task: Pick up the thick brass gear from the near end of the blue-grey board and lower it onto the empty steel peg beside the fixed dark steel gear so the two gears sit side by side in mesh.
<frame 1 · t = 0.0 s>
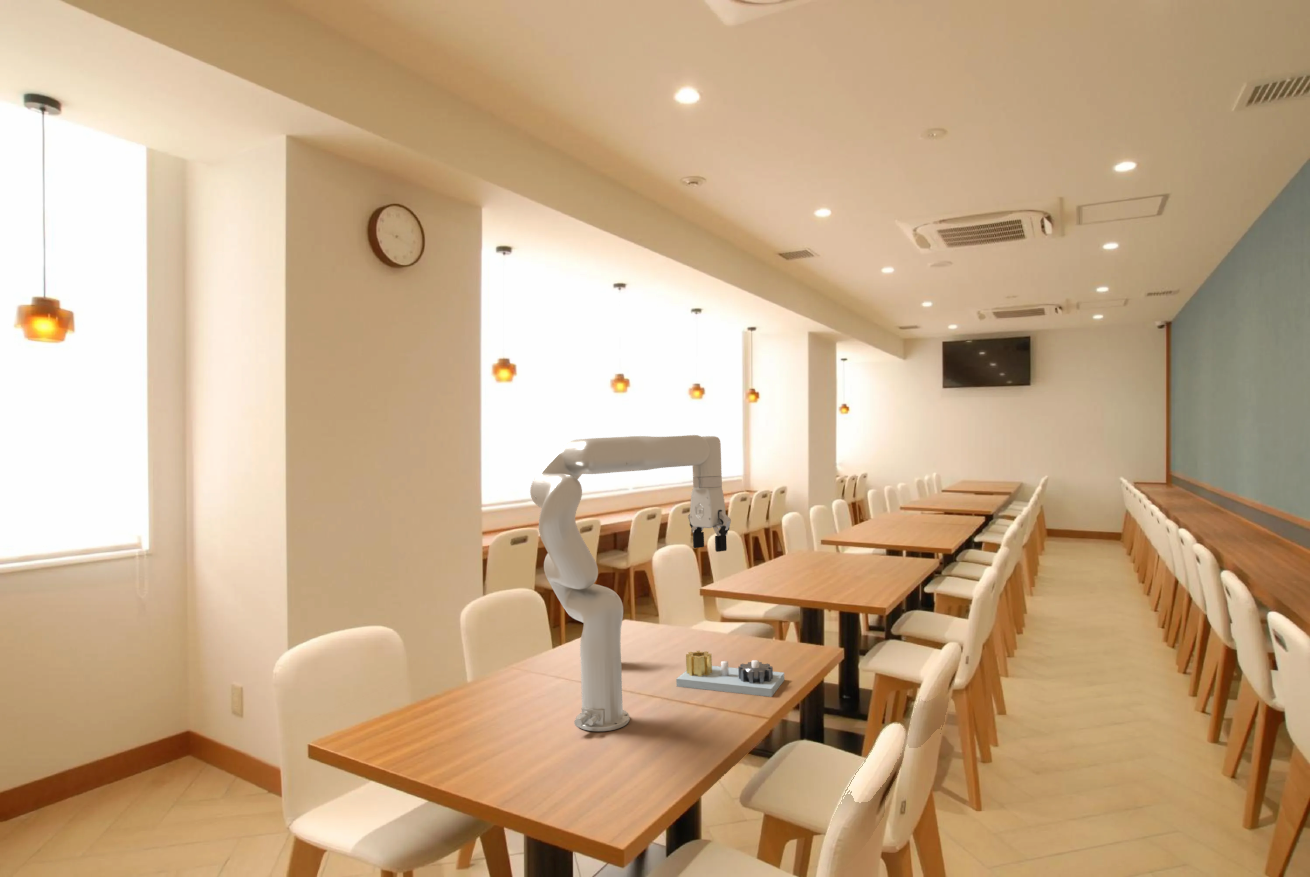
hand: (709, 549, 184), 37 cm above the table, tool pointing down, fingers open, 9 cm apart
board: (730, 683, 191), on the table
steel gear: (755, 678, 188), resting on board
brass gear: (699, 672, 194), point 2 cm above the table, touching board
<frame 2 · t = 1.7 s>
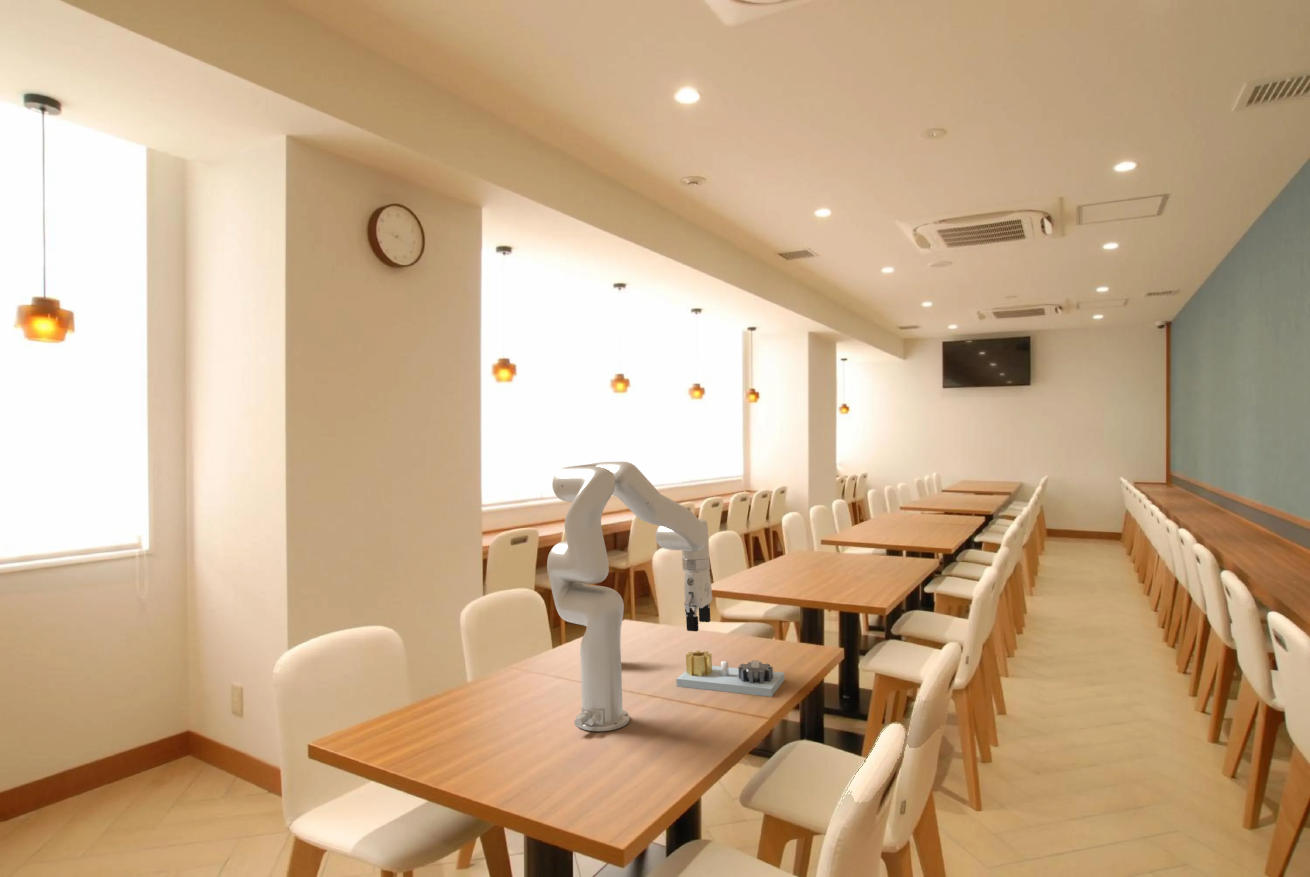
hand: (698, 626, 195), 15 cm above the table, tool pointing down, fingers open, 9 cm apart
nothing on the table moved.
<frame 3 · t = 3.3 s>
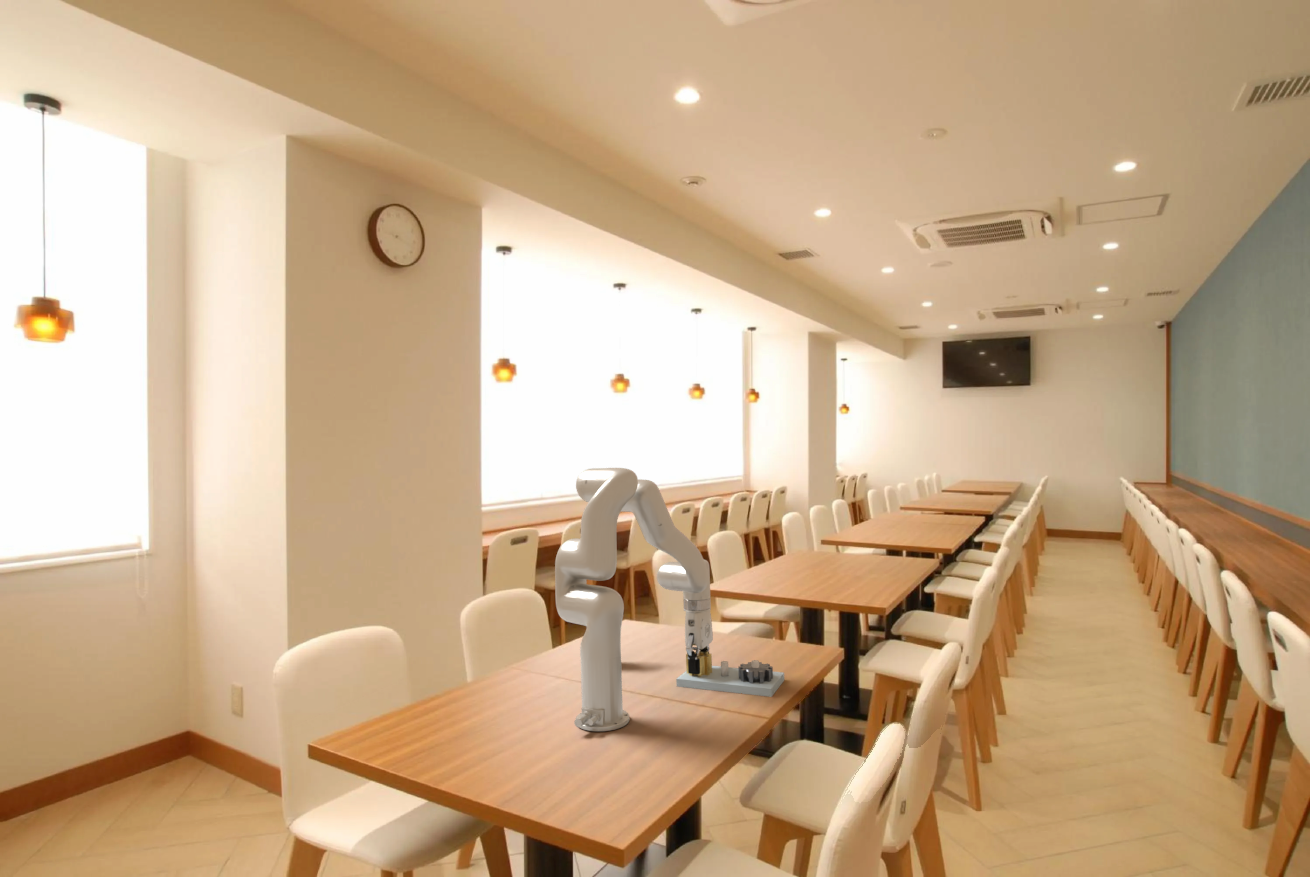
hand: (699, 668, 194), 3 cm above the table, tool pointing down, fingers closed on brass gear, 6 cm apart
brass gear: (699, 672, 194), point 2 cm above the table, touching board, gripper
everything else where it was.
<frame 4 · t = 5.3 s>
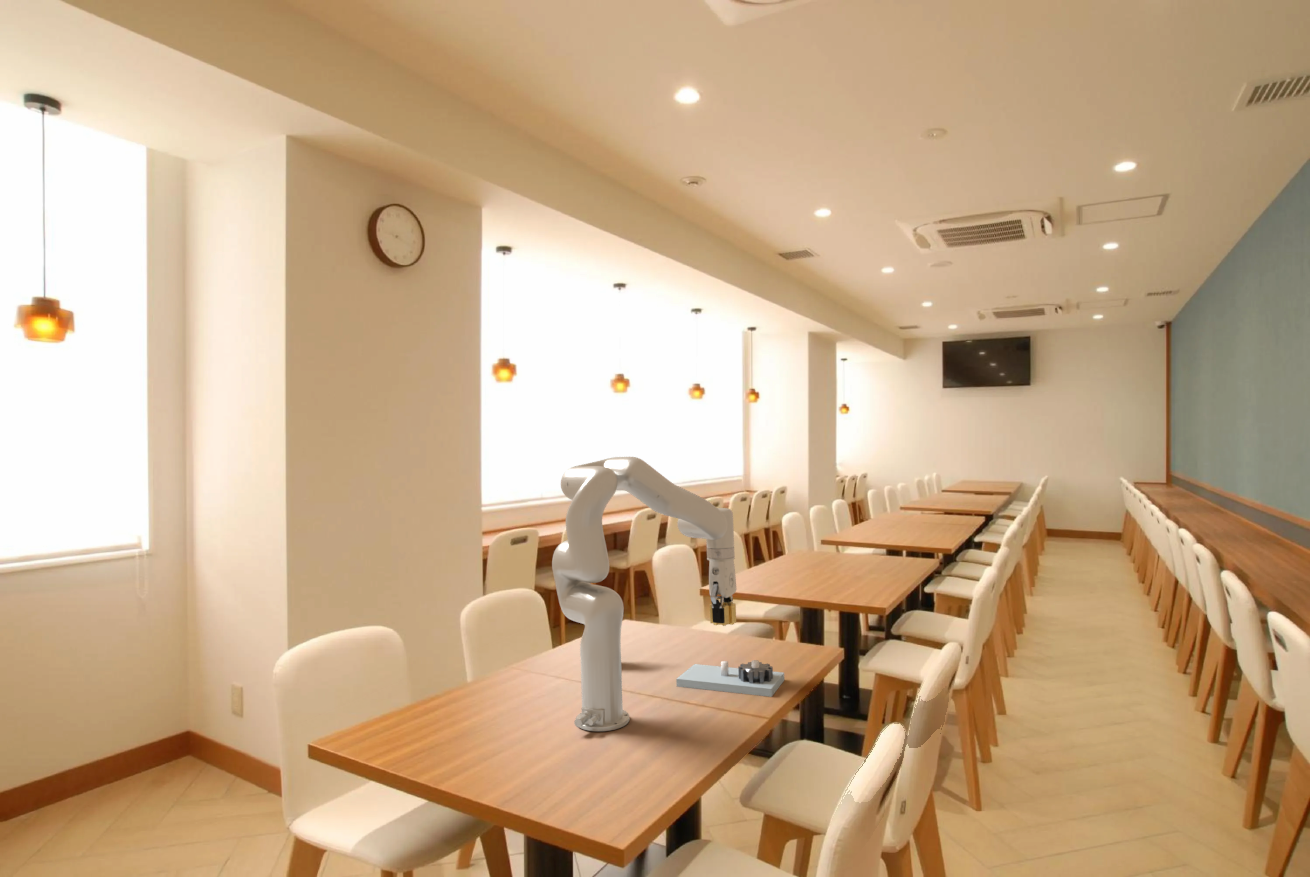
hand: (723, 618, 192), 17 cm above the table, tool pointing down, fingers closed on brass gear, 6 cm apart
brass gear: (723, 622, 192), point 16 cm above the table, touching gripper
everything else where it was.
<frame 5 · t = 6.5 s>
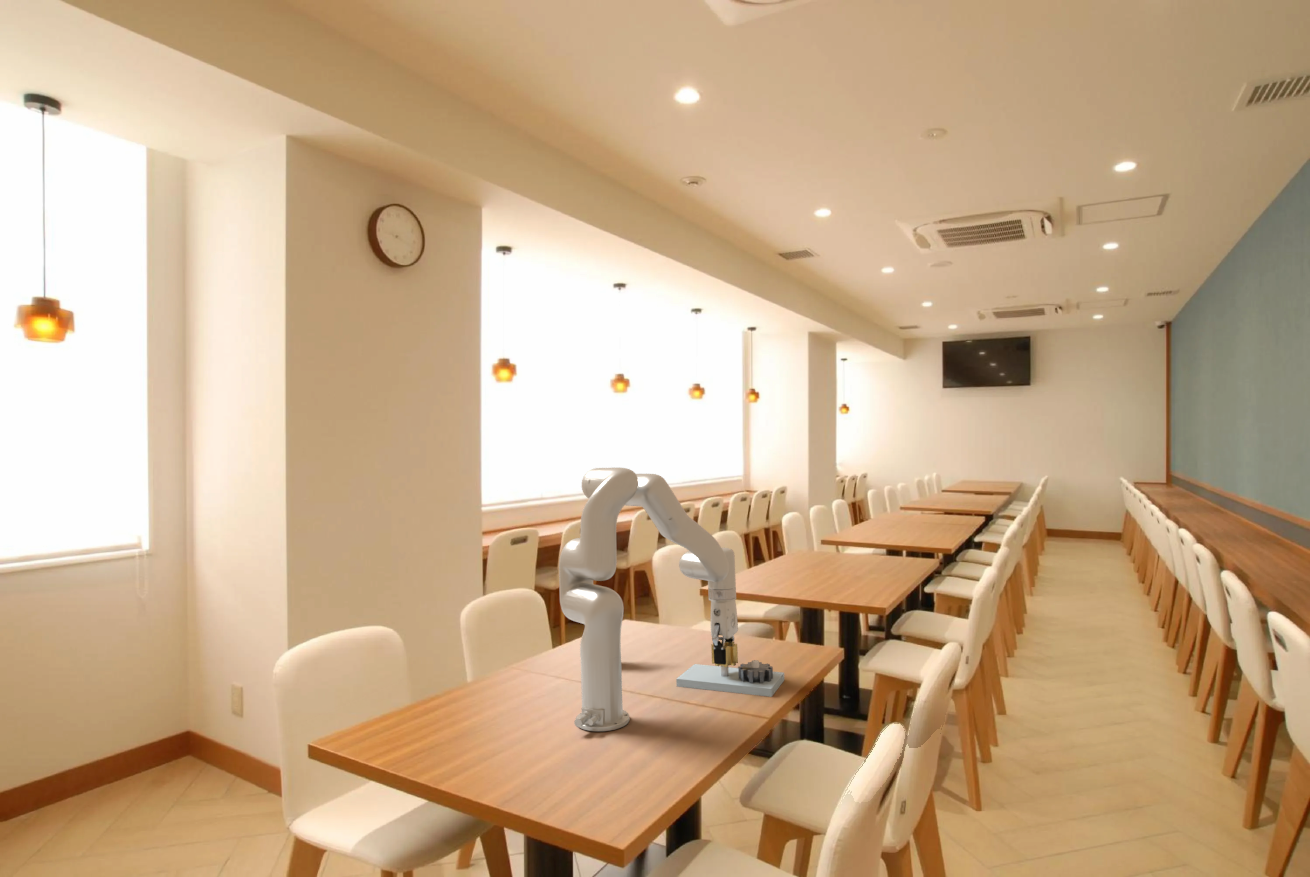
hand: (724, 659, 192), 6 cm above the table, tool pointing down, fingers closed on brass gear, 6 cm apart
brass gear: (724, 662, 192), point 5 cm above the table, touching gripper
everything else where it was.
when the fingers open (4 cm above the table, at t = 7.3 s): brass gear drops 1 cm, resting on board.
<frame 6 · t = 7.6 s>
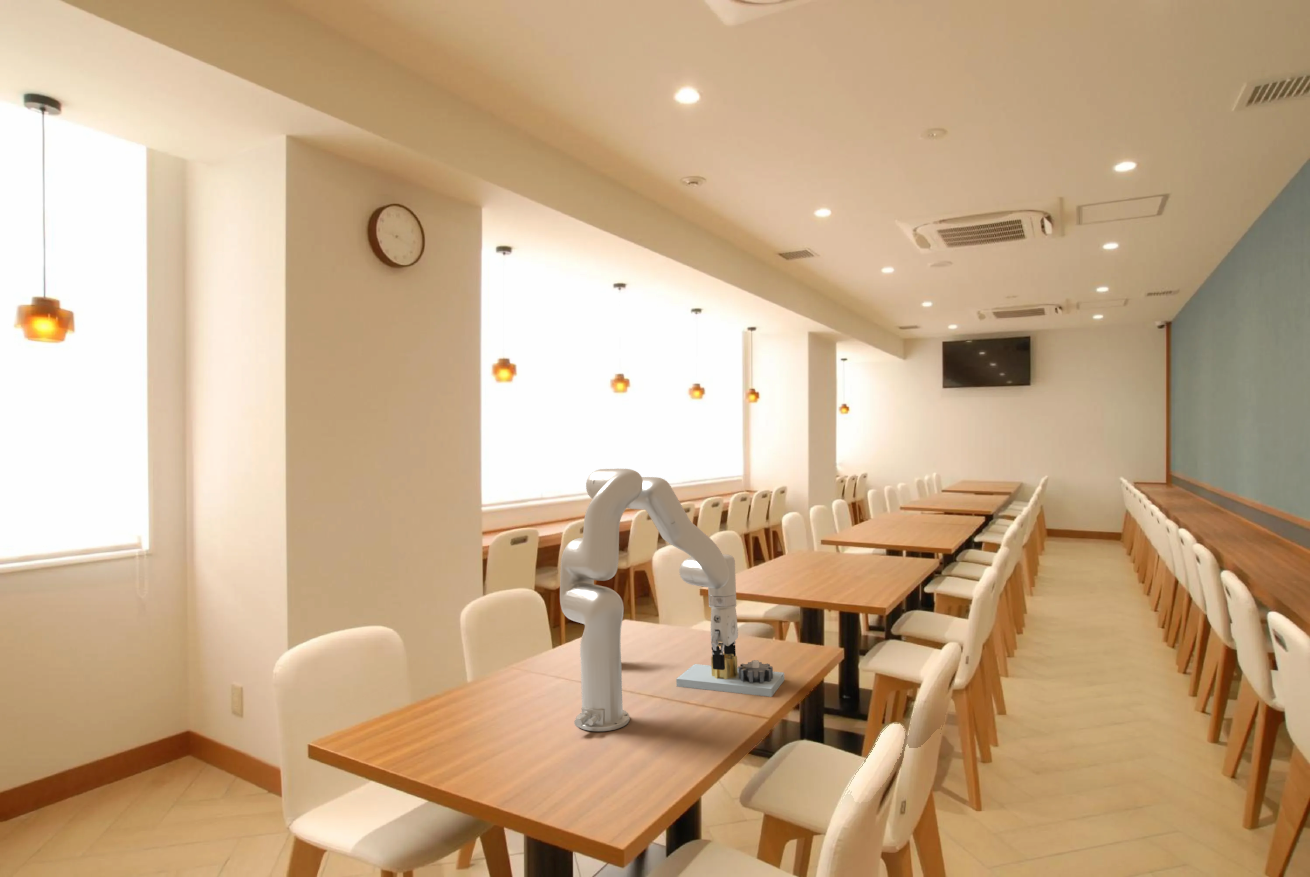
hand: (724, 664, 192), 5 cm above the table, tool pointing down, fingers open, 9 cm apart
brass gear: (724, 675, 191), point 2 cm above the table, touching board
everything else where it was.
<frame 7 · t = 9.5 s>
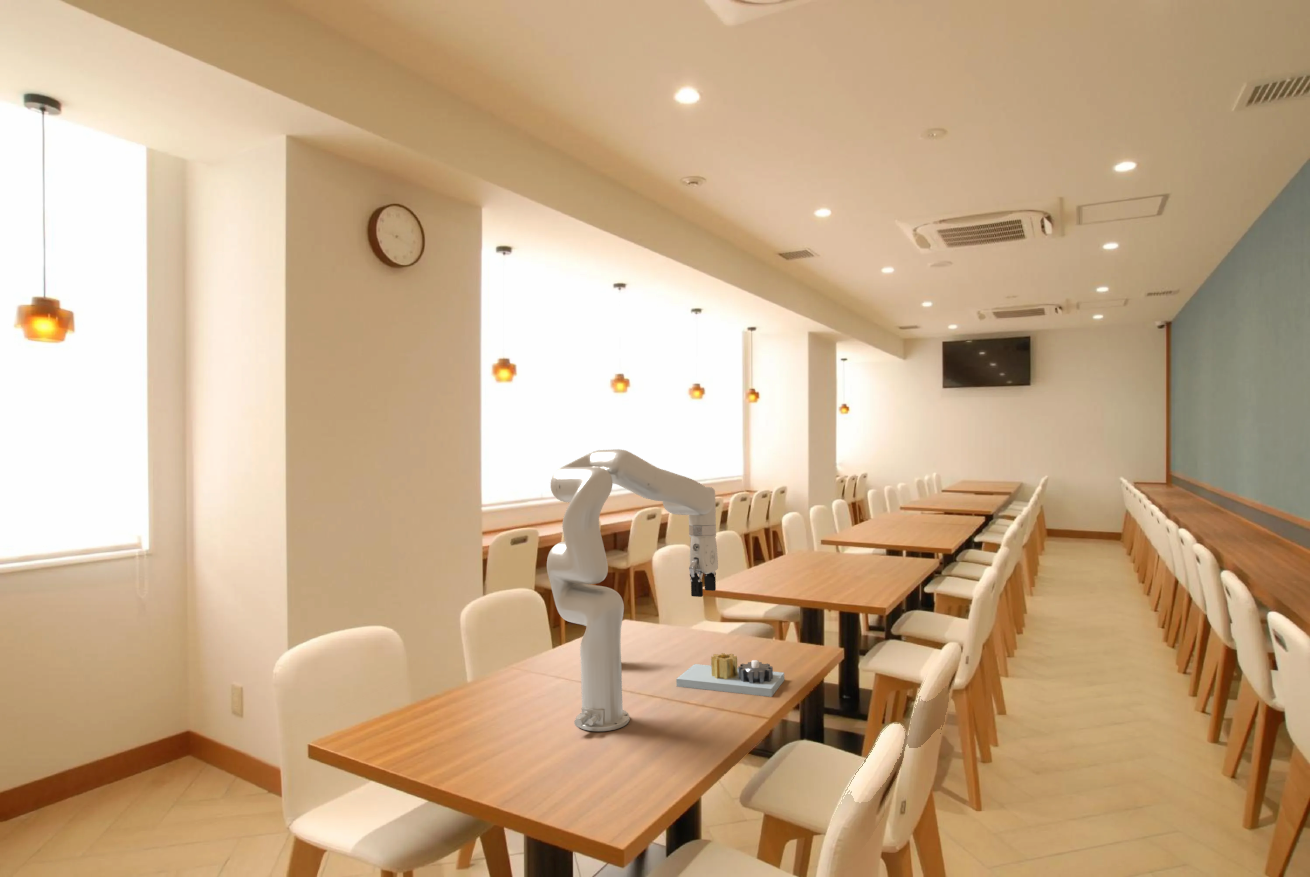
hand: (703, 593, 195), 24 cm above the table, tool pointing down, fingers open, 9 cm apart
nothing on the table moved.
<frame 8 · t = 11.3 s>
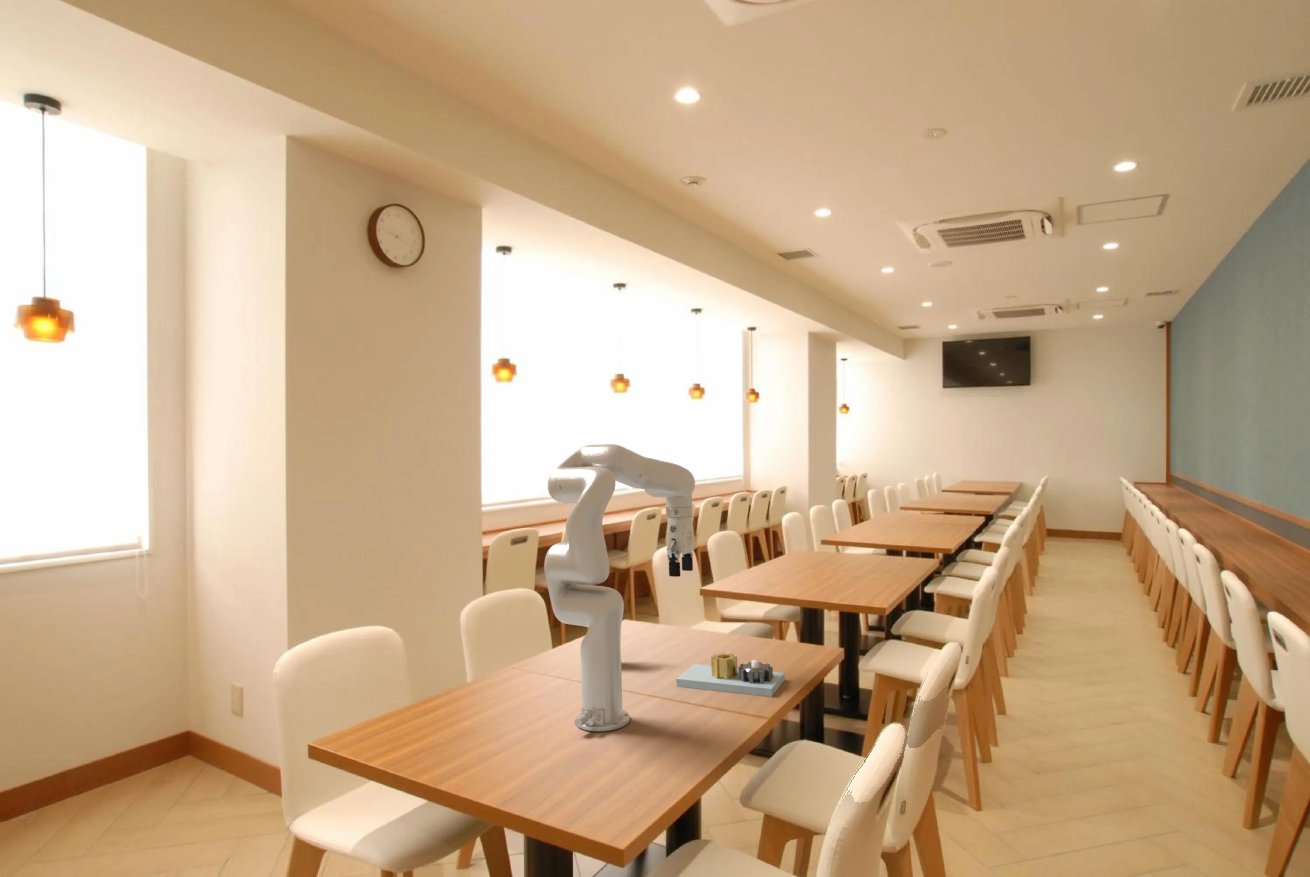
hand: (681, 573, 201), 28 cm above the table, tool pointing down, fingers open, 9 cm apart
nothing on the table moved.
at the end: brass gear 0.1 cm from the target spot on the board, point 2.0 cm above the board's base; brass gear tilted 0°; the gripper is holding nothing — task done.
